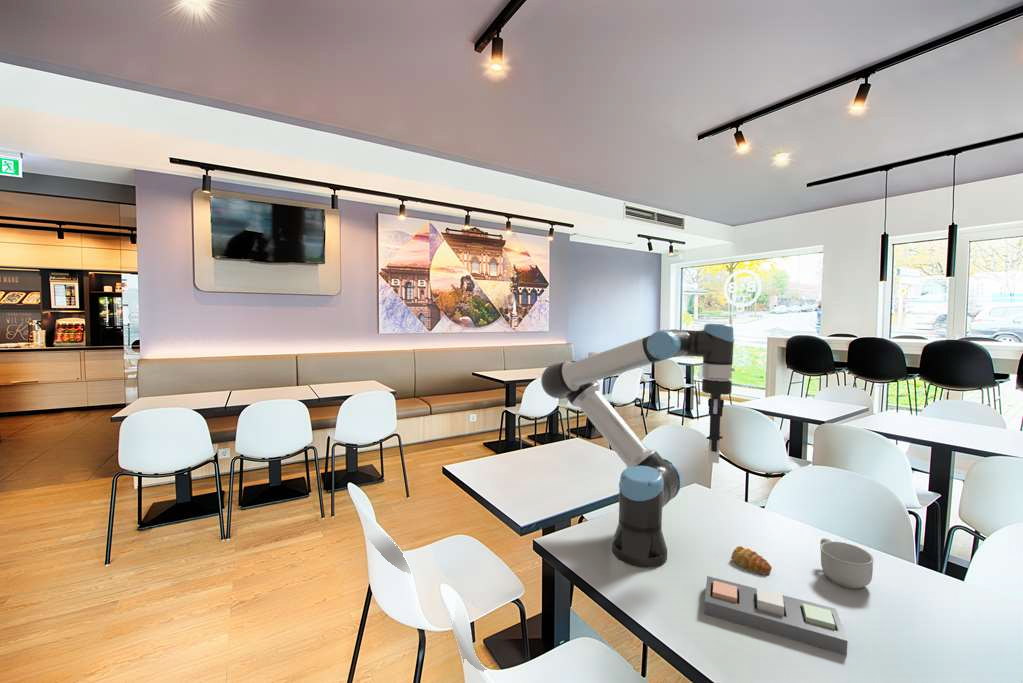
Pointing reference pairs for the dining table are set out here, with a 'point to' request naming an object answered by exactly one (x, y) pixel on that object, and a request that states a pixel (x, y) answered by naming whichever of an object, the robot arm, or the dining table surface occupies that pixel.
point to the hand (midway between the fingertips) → (713, 461)
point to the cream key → (770, 601)
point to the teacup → (846, 563)
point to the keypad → (775, 618)
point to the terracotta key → (725, 591)
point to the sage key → (818, 616)
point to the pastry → (750, 560)
